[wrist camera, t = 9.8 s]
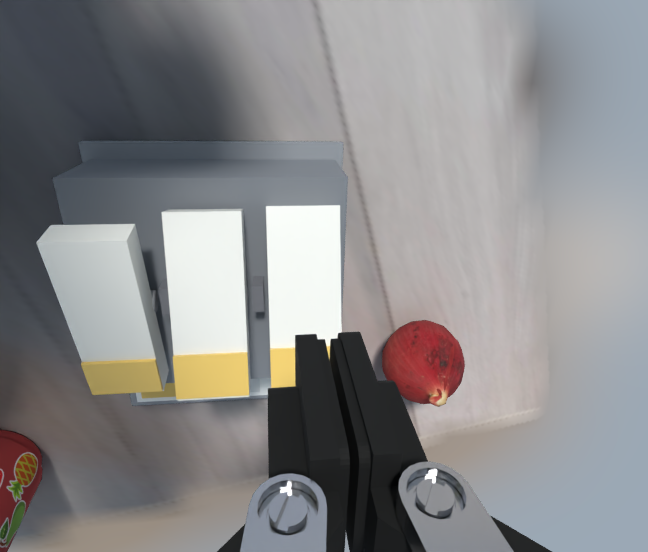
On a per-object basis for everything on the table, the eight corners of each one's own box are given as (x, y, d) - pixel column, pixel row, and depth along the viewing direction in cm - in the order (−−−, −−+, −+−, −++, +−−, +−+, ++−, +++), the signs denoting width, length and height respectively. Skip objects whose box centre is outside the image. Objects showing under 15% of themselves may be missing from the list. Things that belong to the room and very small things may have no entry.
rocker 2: (173, 208, 24) (160, 212, 21) (244, 207, 24) (241, 211, 22) (186, 379, 26) (176, 402, 23) (251, 375, 27) (249, 398, 24)
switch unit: (82, 140, 27) (22, 163, 21) (341, 141, 29) (362, 163, 22) (134, 399, 36) (103, 474, 29) (332, 388, 37) (346, 457, 31)
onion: (392, 293, 34) (425, 353, 27) (455, 314, 36) (503, 376, 28) (361, 353, 36) (384, 424, 29) (422, 371, 38) (458, 442, 30)
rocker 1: (59, 215, 22) (34, 244, 19) (139, 214, 22) (125, 243, 20) (107, 361, 27) (93, 397, 25) (171, 358, 28) (163, 393, 25)
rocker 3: (266, 208, 25) (265, 205, 22) (333, 207, 25) (340, 205, 23) (271, 379, 26) (271, 397, 23) (335, 376, 27) (342, 393, 24)
